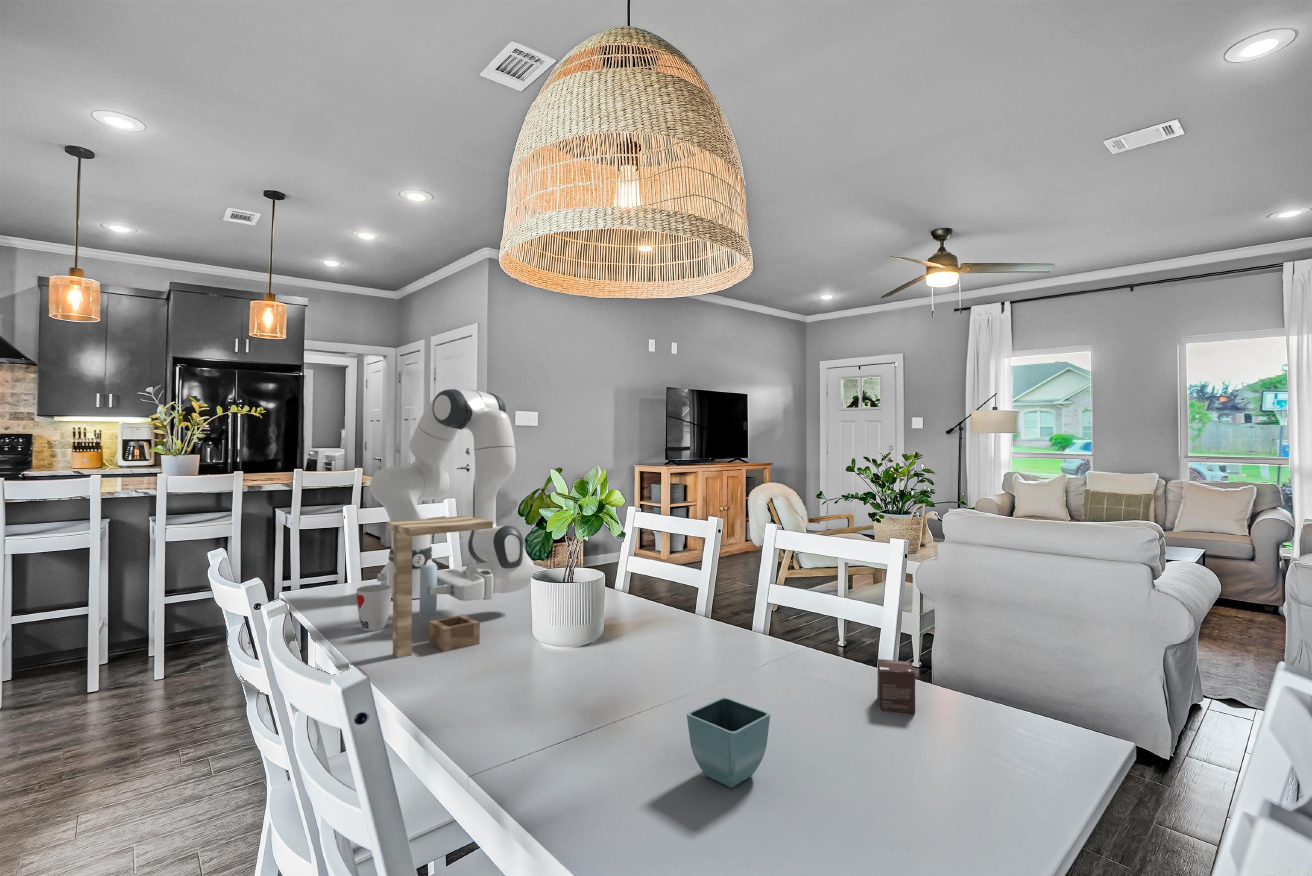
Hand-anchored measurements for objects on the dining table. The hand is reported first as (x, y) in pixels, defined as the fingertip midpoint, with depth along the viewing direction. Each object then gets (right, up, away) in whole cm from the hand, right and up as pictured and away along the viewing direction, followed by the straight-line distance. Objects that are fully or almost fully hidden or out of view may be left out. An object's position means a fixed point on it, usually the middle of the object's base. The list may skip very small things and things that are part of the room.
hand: (424, 588), depth 159 cm
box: (+101, -11, -43) cm, 110 cm away
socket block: (+10, -10, -10) cm, 18 cm away
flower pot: (+68, -11, -67) cm, 96 cm away
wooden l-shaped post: (+8, -10, -13) cm, 18 cm away
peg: (0, -7, +1) cm, 7 cm away
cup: (-13, -10, +1) cm, 17 cm away
